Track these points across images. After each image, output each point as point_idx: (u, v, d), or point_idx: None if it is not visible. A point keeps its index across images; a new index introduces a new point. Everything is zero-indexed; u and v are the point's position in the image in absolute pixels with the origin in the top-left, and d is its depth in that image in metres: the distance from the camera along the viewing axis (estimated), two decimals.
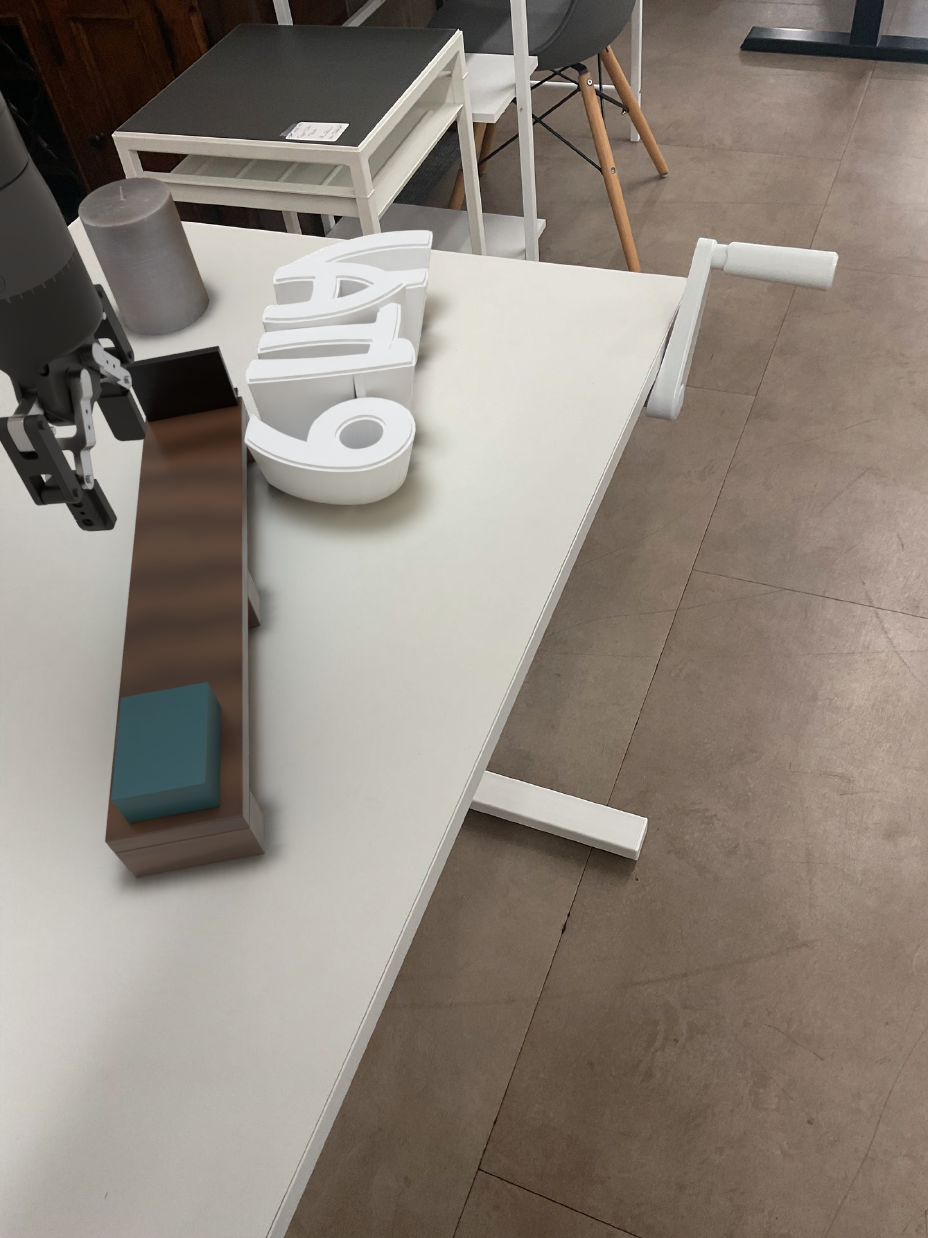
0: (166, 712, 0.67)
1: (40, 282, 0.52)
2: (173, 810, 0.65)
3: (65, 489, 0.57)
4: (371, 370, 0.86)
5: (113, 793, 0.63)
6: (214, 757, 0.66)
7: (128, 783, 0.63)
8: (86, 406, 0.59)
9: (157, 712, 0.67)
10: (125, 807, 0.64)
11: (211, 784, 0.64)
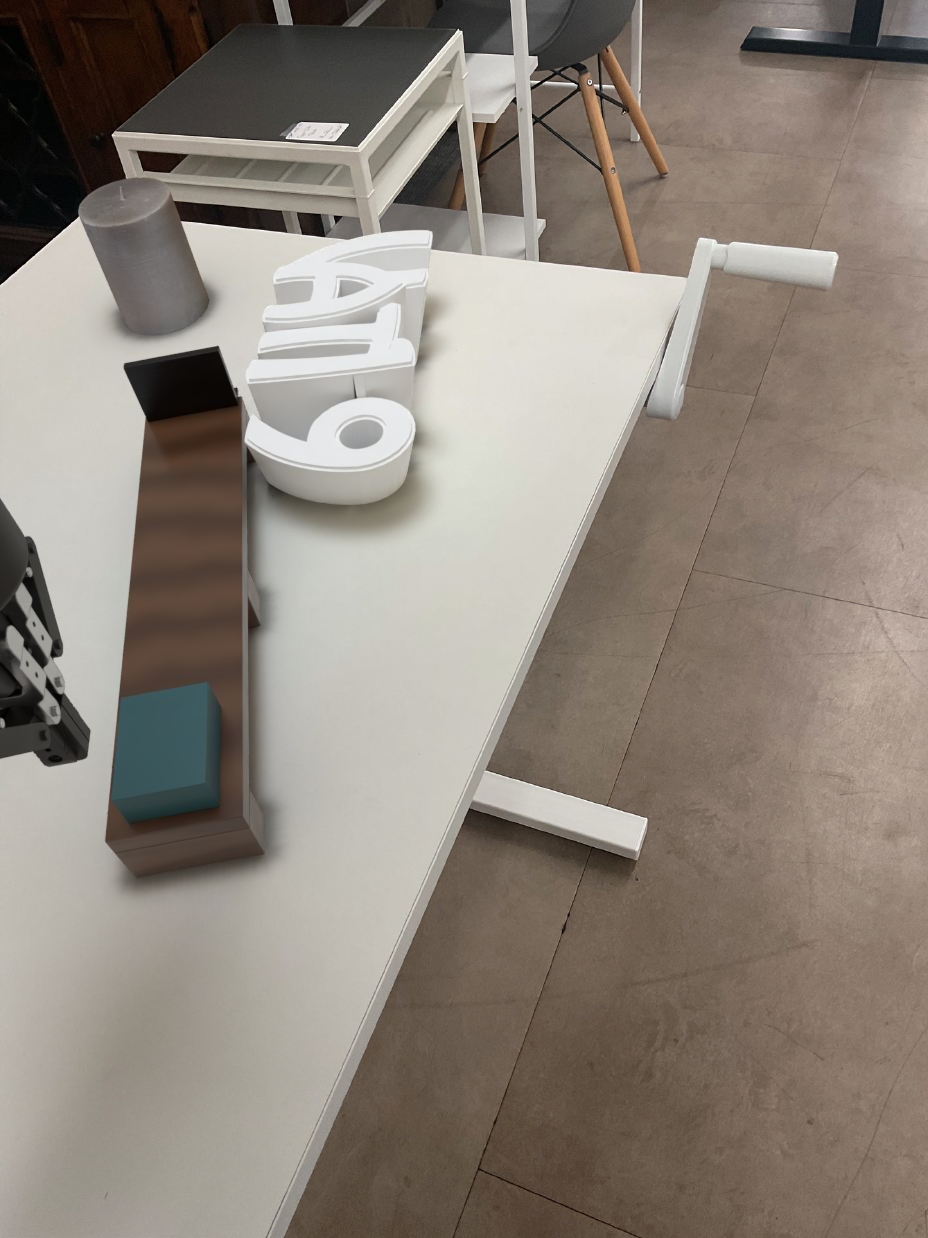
0: (166, 712, 0.67)
1: None
2: (173, 810, 0.65)
3: None
4: (371, 370, 0.86)
5: (113, 793, 0.63)
6: (214, 757, 0.66)
7: (128, 783, 0.63)
8: (24, 659, 0.44)
9: (157, 712, 0.67)
10: (125, 807, 0.64)
11: (211, 784, 0.64)
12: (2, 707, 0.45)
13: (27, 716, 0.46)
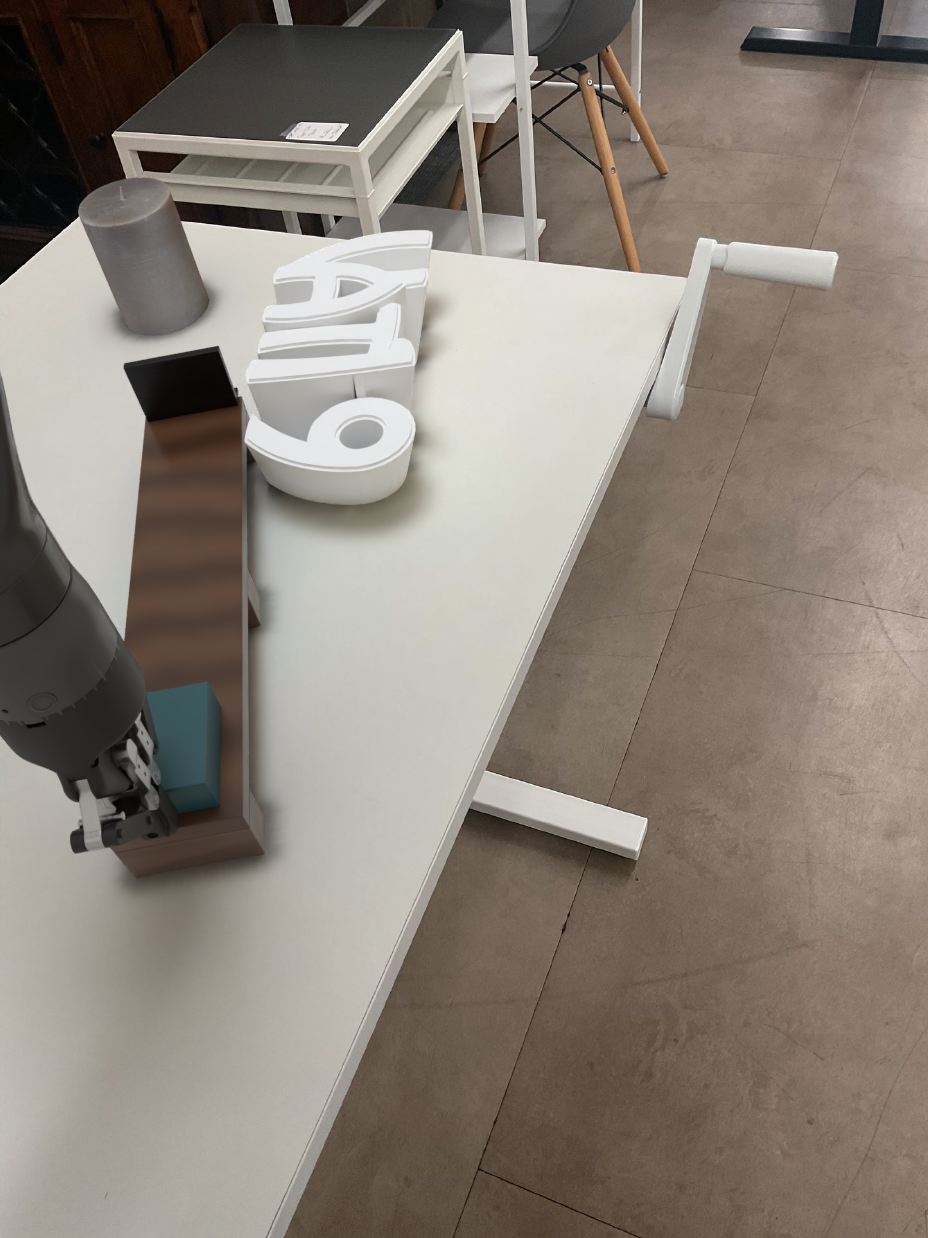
0: (166, 712, 0.67)
1: (92, 687, 0.48)
2: None
3: None
4: (371, 370, 0.86)
5: None
6: (214, 757, 0.66)
7: None
8: (137, 763, 0.56)
9: (157, 711, 0.67)
10: None
11: (211, 784, 0.64)
12: (117, 798, 0.57)
13: (135, 804, 0.58)
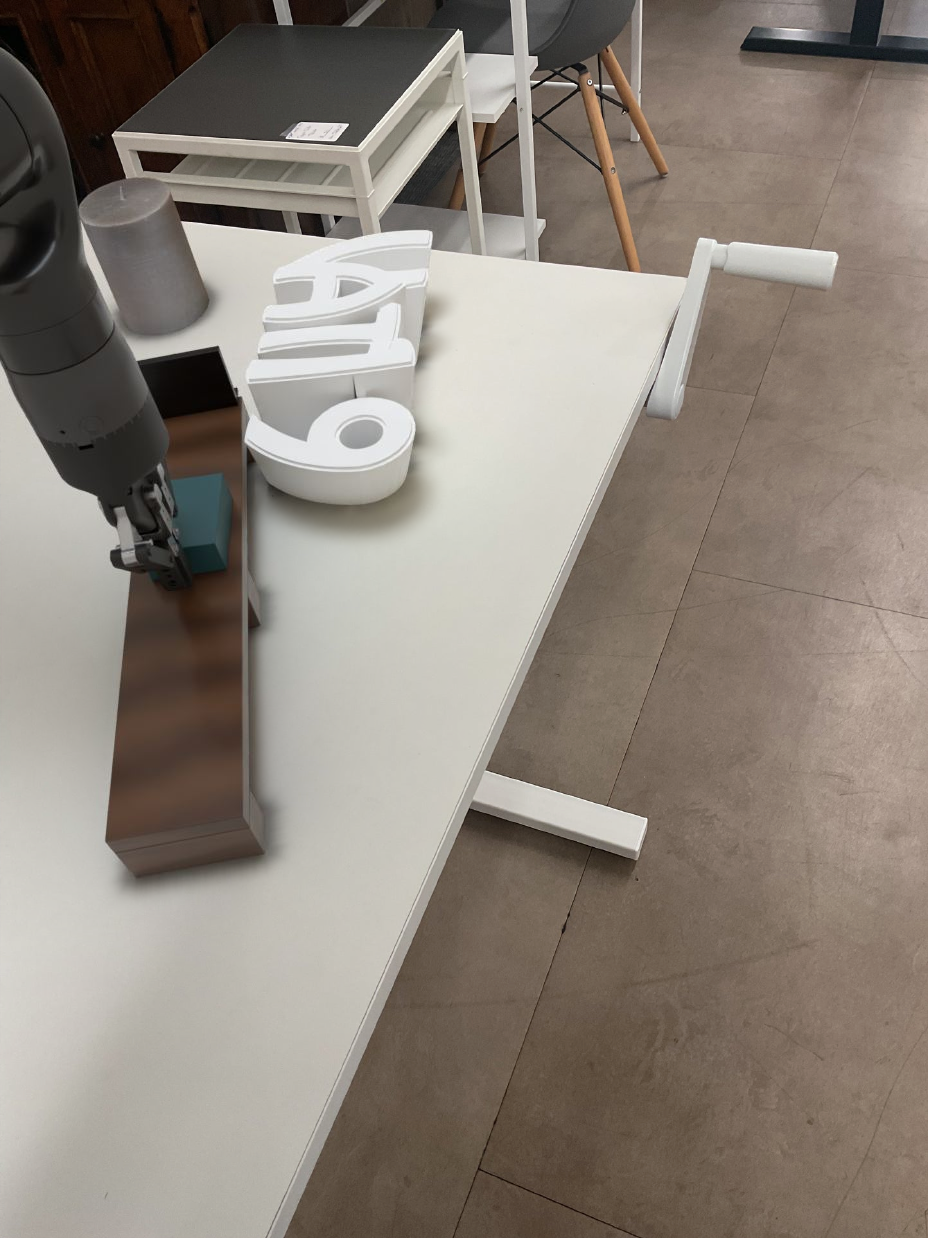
0: (186, 493, 0.80)
1: (129, 419, 0.62)
2: None
3: (166, 567, 0.70)
4: (371, 370, 0.86)
5: None
6: (224, 531, 0.80)
7: None
8: (161, 507, 0.70)
9: (179, 493, 0.80)
10: None
11: (220, 548, 0.78)
12: None
13: None
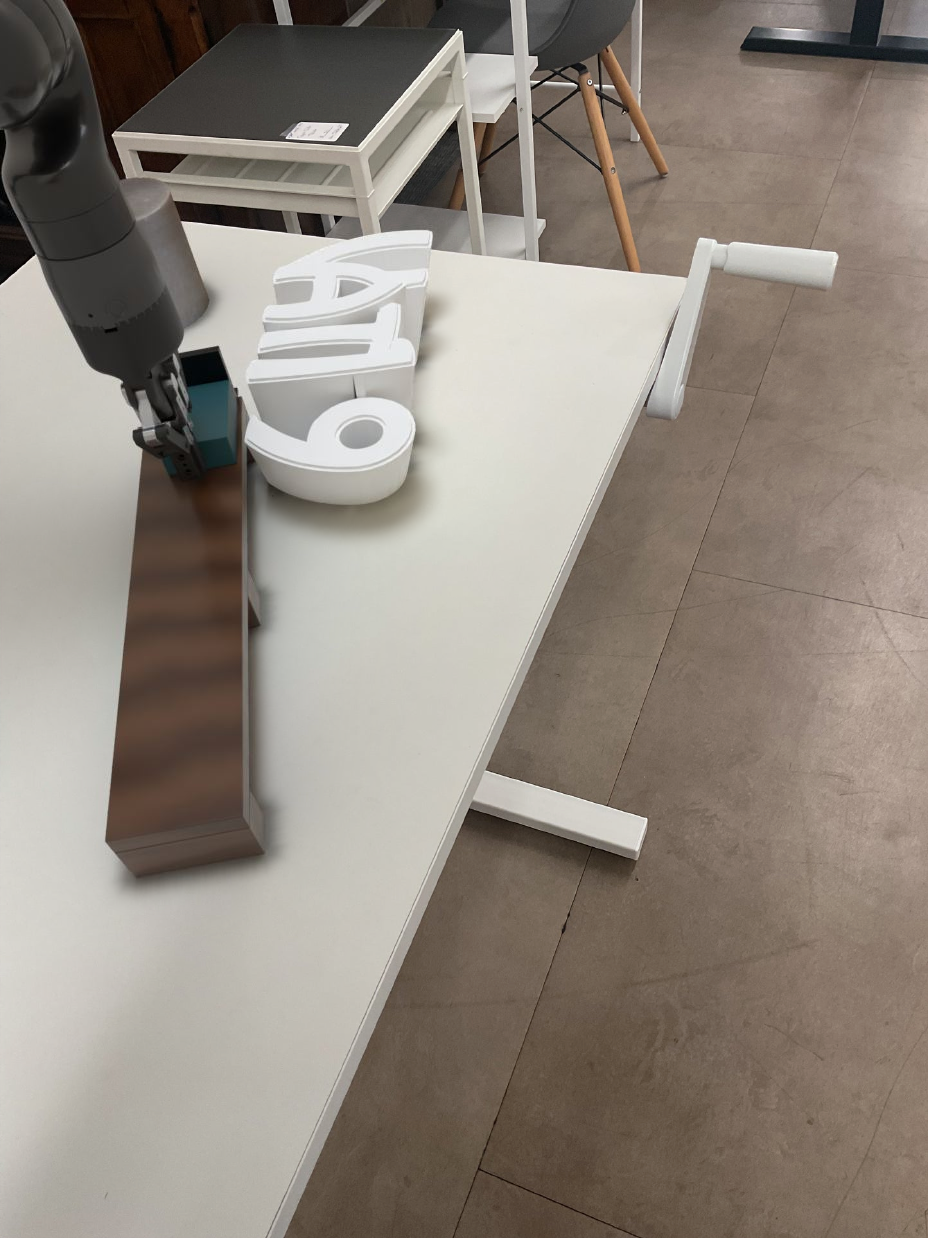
0: (197, 398, 0.88)
1: (148, 305, 0.70)
2: None
3: (182, 451, 0.78)
4: (371, 370, 0.86)
5: None
6: (233, 430, 0.88)
7: None
8: (178, 396, 0.77)
9: (190, 398, 0.88)
10: (167, 457, 0.85)
11: (231, 443, 0.86)
12: None
13: None
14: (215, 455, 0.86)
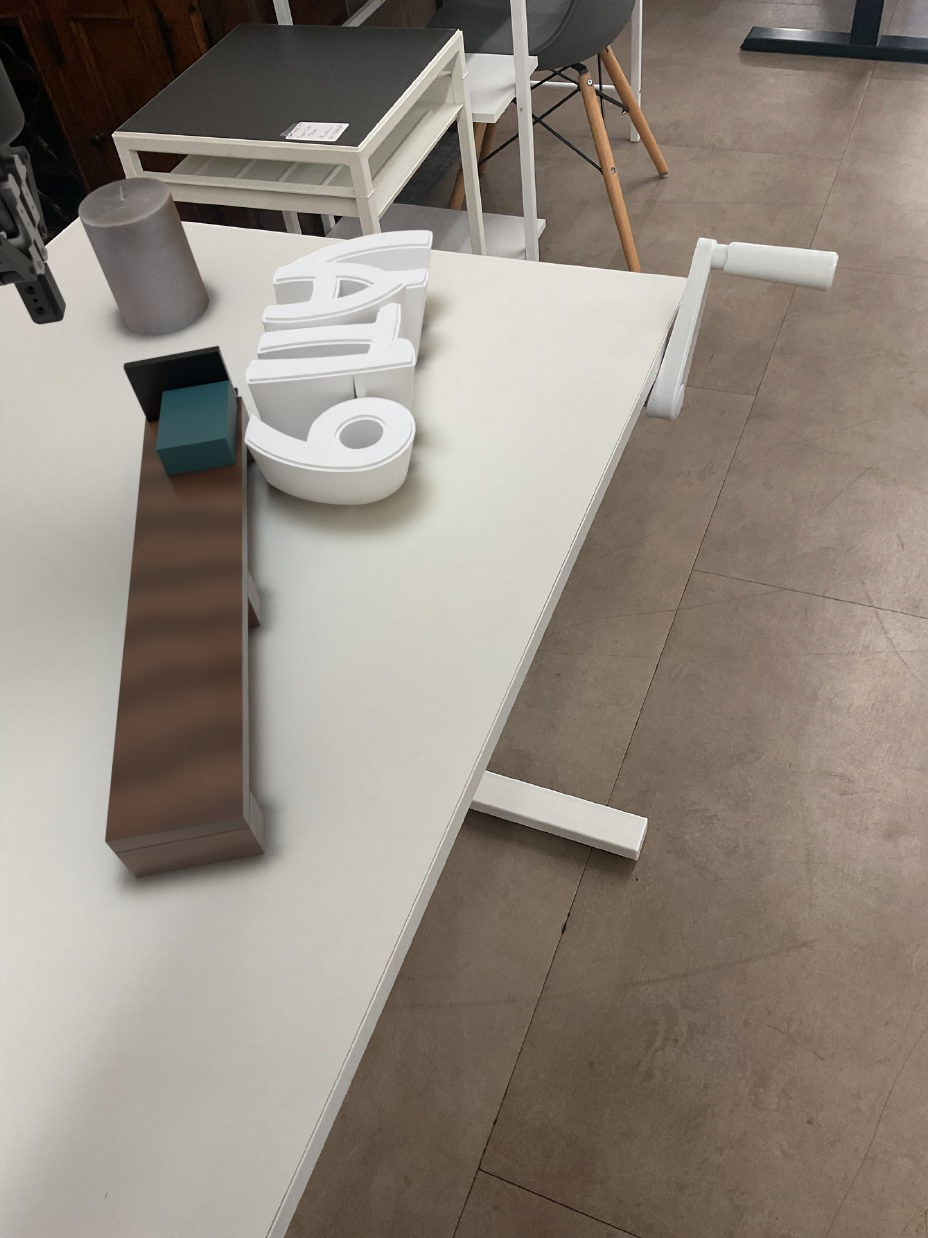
0: (197, 398, 0.88)
1: None
2: (201, 465, 0.86)
3: (26, 275, 0.65)
4: (371, 370, 0.86)
5: (157, 445, 0.85)
6: (232, 431, 0.87)
7: (168, 439, 0.85)
8: (20, 206, 0.64)
9: (190, 398, 0.88)
10: (165, 458, 0.85)
11: (230, 444, 0.86)
12: None
13: None
14: (214, 456, 0.86)
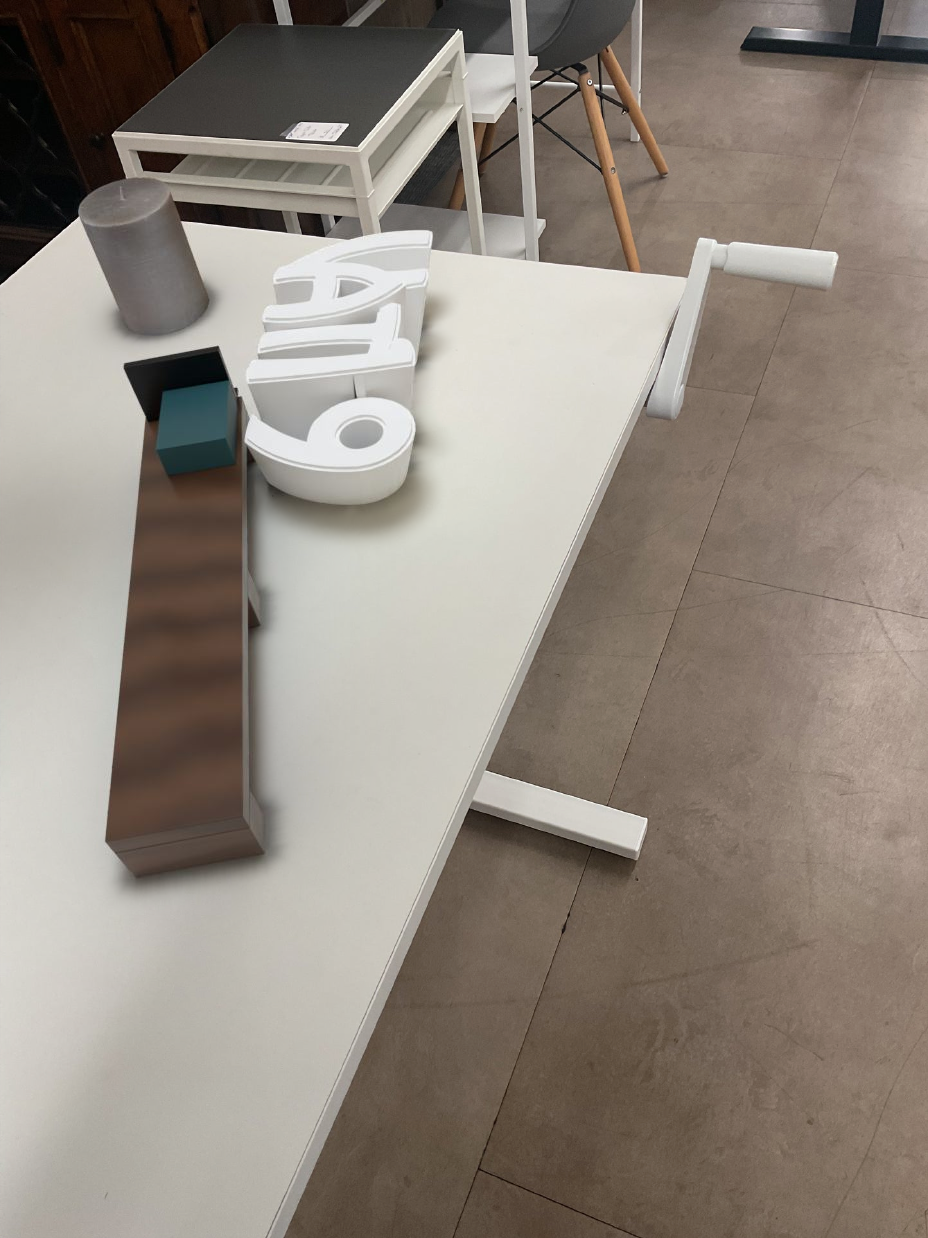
0: (197, 398, 0.88)
1: None
2: (201, 465, 0.86)
3: None
4: (371, 370, 0.86)
5: (157, 445, 0.85)
6: (232, 431, 0.87)
7: (168, 439, 0.85)
8: None
9: (190, 398, 0.88)
10: (165, 458, 0.85)
11: (230, 444, 0.86)
12: None
13: None
14: (214, 456, 0.86)
